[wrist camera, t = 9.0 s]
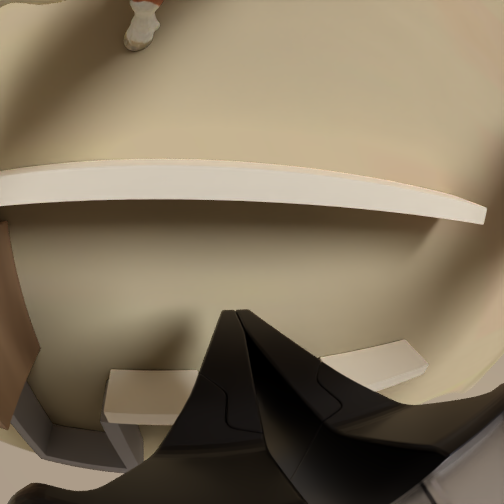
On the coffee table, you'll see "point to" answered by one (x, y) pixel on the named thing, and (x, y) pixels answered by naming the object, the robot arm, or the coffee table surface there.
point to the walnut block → (13, 333)
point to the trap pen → (203, 188)
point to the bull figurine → (141, 25)
